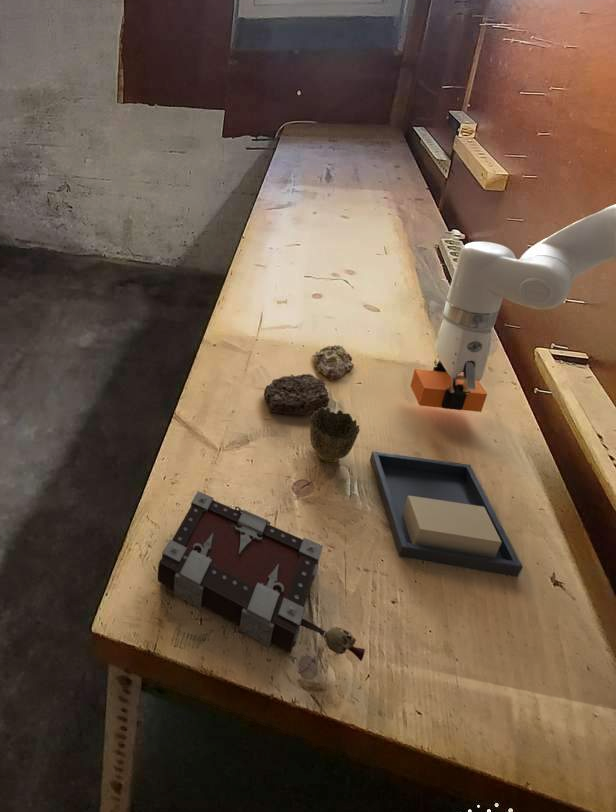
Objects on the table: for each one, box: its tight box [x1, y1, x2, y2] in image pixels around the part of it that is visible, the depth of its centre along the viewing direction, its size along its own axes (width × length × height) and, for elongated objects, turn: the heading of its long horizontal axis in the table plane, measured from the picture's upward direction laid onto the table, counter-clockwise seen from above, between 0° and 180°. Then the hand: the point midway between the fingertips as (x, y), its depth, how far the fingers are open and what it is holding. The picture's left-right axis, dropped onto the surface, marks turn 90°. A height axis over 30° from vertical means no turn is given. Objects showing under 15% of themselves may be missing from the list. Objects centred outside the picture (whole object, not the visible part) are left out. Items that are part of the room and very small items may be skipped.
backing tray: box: [369, 451, 523, 578], centre depth 85 cm, size 15×19×3 cm
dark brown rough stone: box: [263, 373, 331, 416], centre depth 108 cm, size 12×10×5 cm
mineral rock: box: [312, 344, 355, 380], centre depth 119 cm, size 11×4×8 cm
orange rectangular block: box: [409, 368, 488, 413], centre depth 104 cm, size 10×6×4 cm, turn 76°
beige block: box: [402, 495, 502, 558], centre depth 80 cm, size 10×6×4 cm, turn 76°
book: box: [157, 490, 366, 662], centre depth 74 cm, size 15×25×5 cm, turn 57°
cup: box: [309, 407, 361, 464], centre depth 95 cm, size 8×7×8 cm
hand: (445, 395), depth 104 cm, fingers closed on orange rectangular block, 6 cm apart
